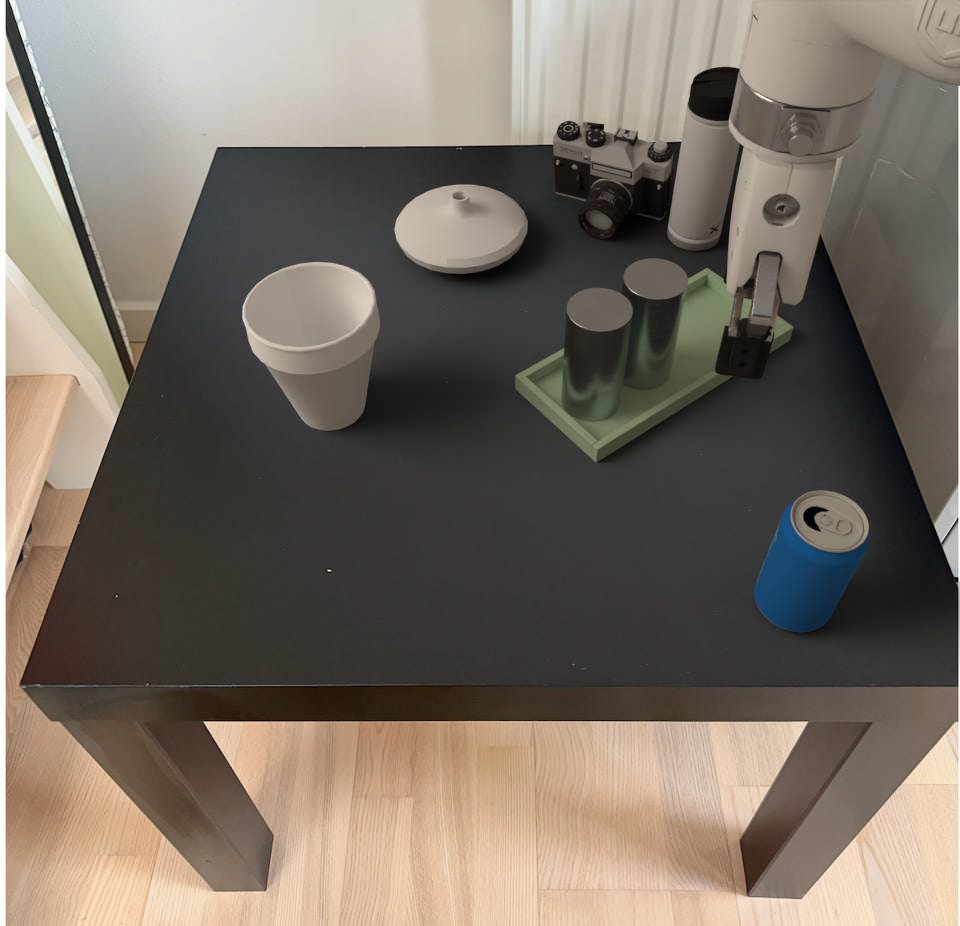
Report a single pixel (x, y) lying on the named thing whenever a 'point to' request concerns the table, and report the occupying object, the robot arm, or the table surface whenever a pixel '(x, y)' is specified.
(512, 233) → the vase
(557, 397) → the tray
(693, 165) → the travel mug
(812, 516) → the beverage can
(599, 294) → the can
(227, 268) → the table surface
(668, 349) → the can
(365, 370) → the white flower pot
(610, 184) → the camera
